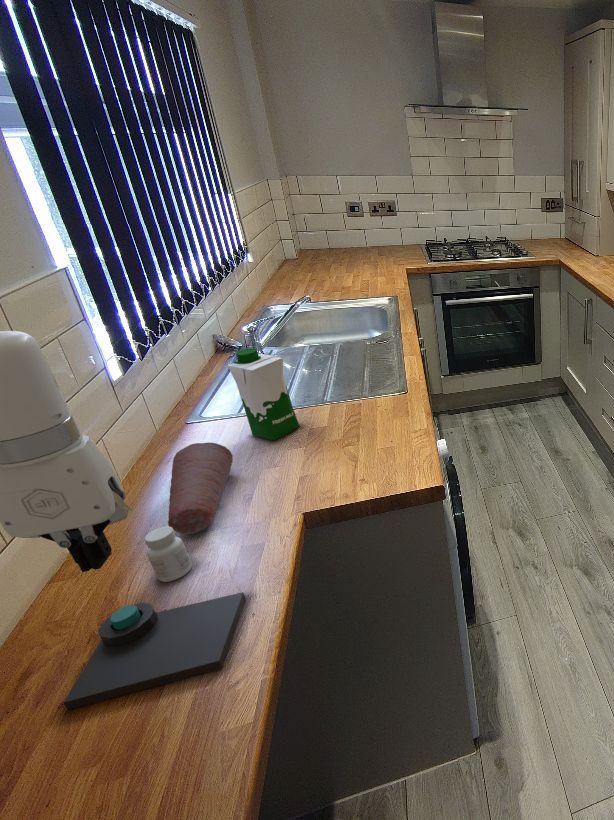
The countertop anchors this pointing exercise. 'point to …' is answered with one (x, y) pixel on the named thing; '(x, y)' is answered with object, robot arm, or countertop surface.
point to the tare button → (125, 617)
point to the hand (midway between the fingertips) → (97, 562)
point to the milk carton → (264, 394)
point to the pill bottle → (167, 554)
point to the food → (197, 486)
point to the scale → (158, 649)
